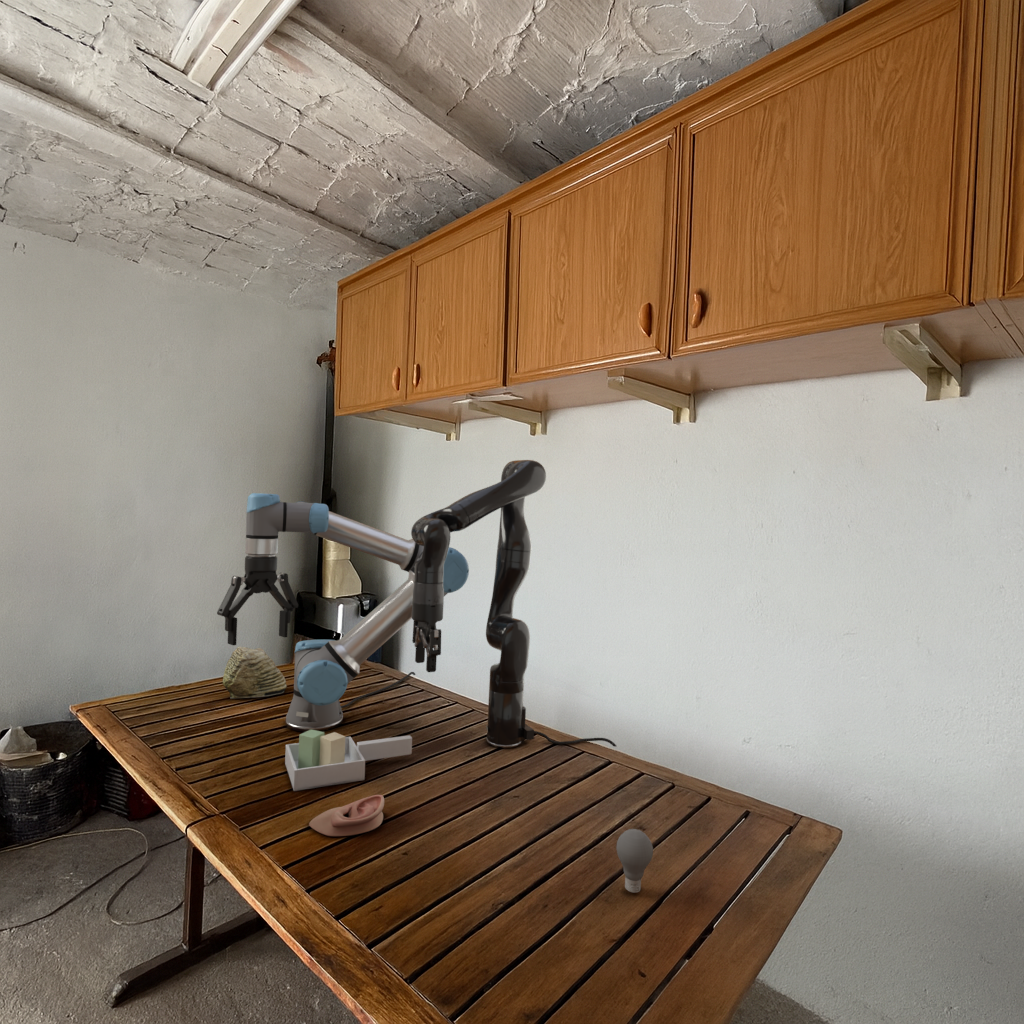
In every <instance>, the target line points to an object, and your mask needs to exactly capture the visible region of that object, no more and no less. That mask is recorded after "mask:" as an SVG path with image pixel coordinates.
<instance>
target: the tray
mask: <svg viewBox="0 0 1024 1024" xmlns="http://www.w3.org/2000/svg"><path fill="white" fill-rule="evenodd" d="M284 752H285V755H284V756H285V757H284V764H285V768H286V771H287V774H288V777H289V780H290V784H291V787H292V791H293V792H298V791H304V790H310V789H315V788H316V789H317V788H321V787H329V786H335V785H341V784H348V783H355V782H359V781H365V779H366V777H365V776H366V762H367V761H373V760H382V759H388V758H394V757H402V756H409V755H412V753H413V737H412V736H411V735H410V734H409V735H401V736H394V737H386V738H377V739H372V740H363V741H357V742H356V743H355V741H354V740H353V738H352V737H351V736H345V761H344V762H343V763H336V764H329V765H322V766H315V767H308V768H301V769H298V757H299V742H297V743H288V744H285V751H284Z"/></svg>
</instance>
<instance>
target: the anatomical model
mask: <svg viewBox="0 0 1024 1024" xmlns="http://www.w3.org/2000/svg"><path fill="white" fill-rule="evenodd" d="M384 806H385V798H384V795H382V794H374V795H369V796H367V797H363V798H361V799H358V800H355V801H353V802H350V803H348V804H345V805H343V806H338V807H333V808H330V809H328V810H325V811H324V812H322V813H320V814H318V815H317V816H315V817H314V818H312V819H311V820H310V821H309V823H308V825H309V827H310V828H311V829H312V830H314V831H315V832H317V833H319V834H322V835H324V836H327V837H346V836H355V835H359V834H364V833H367V832H370V831H373V830H375V829H377V828H378V827H380V826H381V824H382V823H383V820H384V813H383V810H384Z"/></svg>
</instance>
